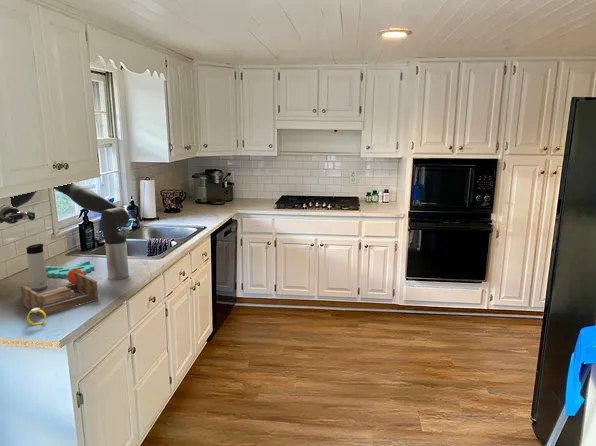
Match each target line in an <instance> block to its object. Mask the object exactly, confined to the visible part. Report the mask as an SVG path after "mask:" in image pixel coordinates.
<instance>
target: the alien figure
mask: <svg viewBox="0 0 596 446" xmlns="http://www.w3.org/2000/svg"><path fill="white" fill-rule="evenodd" d="M73 268H78V269H80V270H82V271H83V273H84V275H87V274H88V273H91V271H95V266H94V264H91V263H90V260H89V259H87V260H84V261H83V262H82V261H81V262H79V263H77V264H75V265H72V266H65V267H64V266H57V265H56V266H51V265H45V269H46V272H47V276H48V277H49V278H53V277H54V278H61V279H65V278H67V274H68V272H69V271H70V270H72V269H73Z"/></svg>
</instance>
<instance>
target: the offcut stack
mask: <svg viewBox="0 0 596 446" xmlns="http://www.w3.org/2000/svg"><path fill="white" fill-rule="evenodd" d="M40 295H41V296H42V303H43V306H48V305H50V304H53V303H57V302H59V300H60V301H62V299H63V300H65V298H66V299H69V298H68V297H70V298H72V297H71V296H73V297H75V296H76V294H75V291H73V290H71V289H70V288H67V287H65V285H64V286H61V287H57V289H54V290H50V291H47V292H43V293H40ZM56 301H57V302H56ZM52 302H53V303H52ZM49 303H50V304H49Z"/></svg>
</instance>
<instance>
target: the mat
mask: <svg viewBox="0 0 596 446" xmlns="http://www.w3.org/2000/svg"><path fill="white" fill-rule="evenodd" d="M47 286H48V287H47V288H46V289H44V290H40V291H35V292H36V293H41V292H45V291H49V290H53V289H57V288H58V287H57V286H55V285H53V284H51V283H50V282H47ZM27 287H28V288H30V289H31V286H27Z"/></svg>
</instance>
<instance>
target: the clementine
mask: <svg viewBox="0 0 596 446" xmlns="http://www.w3.org/2000/svg"><path fill="white" fill-rule="evenodd" d="M76 272H78V273H80V274H82V275H84V276H85V274H84V273H83V271H82V270H80V269H78V268H73V269H72V270H70V271H69V272H68V274H67V277H66V279H67V281H68V282H70V284H76V283H75V273H76Z"/></svg>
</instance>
